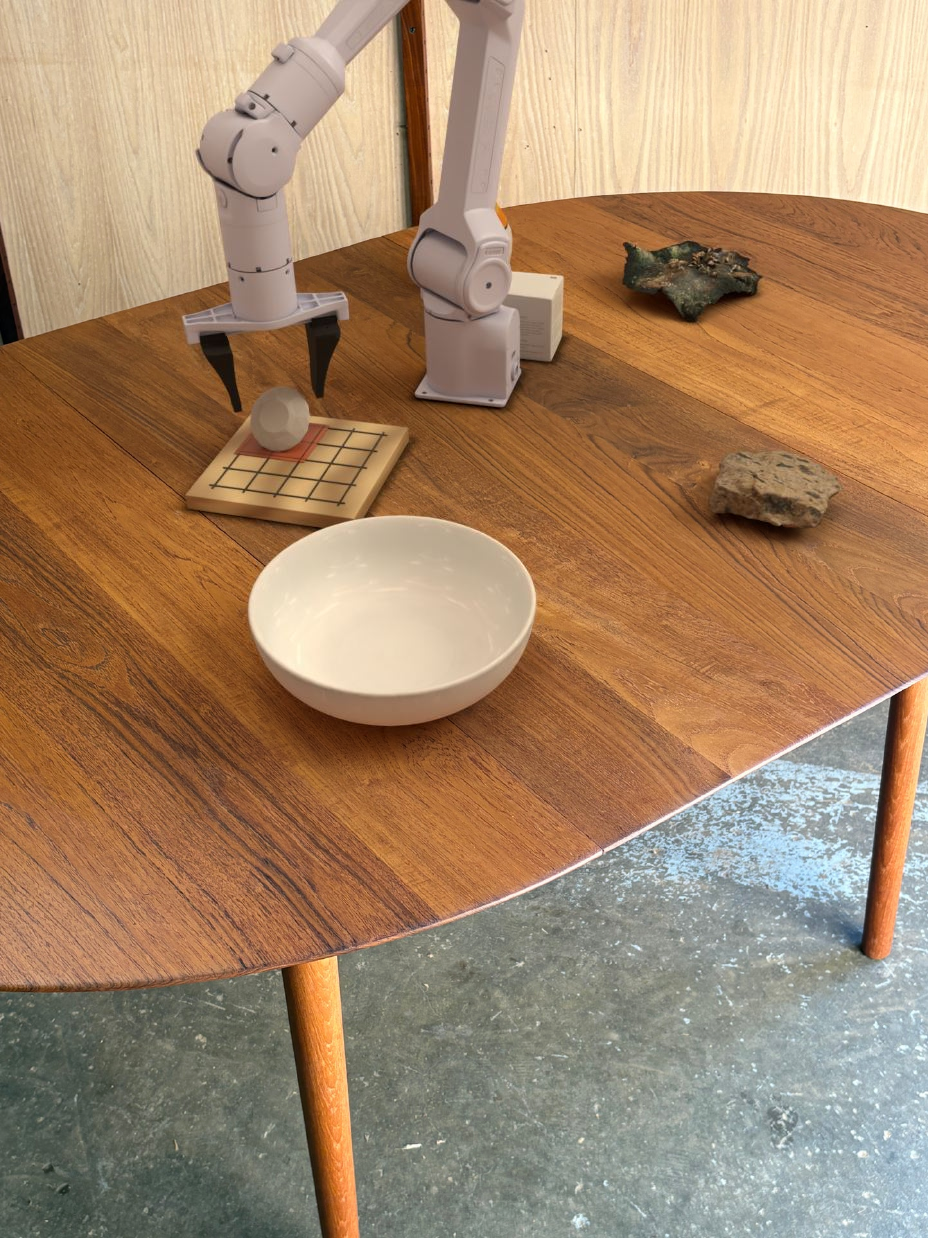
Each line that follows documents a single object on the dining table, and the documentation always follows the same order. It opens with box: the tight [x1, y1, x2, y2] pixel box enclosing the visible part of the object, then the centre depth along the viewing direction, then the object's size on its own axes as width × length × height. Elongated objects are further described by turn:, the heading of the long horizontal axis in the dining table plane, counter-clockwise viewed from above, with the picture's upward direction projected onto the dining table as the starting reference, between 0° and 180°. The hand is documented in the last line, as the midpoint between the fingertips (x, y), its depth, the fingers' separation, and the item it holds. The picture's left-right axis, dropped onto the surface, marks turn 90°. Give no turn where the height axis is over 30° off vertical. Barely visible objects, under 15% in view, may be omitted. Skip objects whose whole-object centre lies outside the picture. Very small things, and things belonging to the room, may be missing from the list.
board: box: [184, 413, 410, 529], centre depth 114 cm, size 16×16×2 cm
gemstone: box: [250, 385, 311, 452], centre depth 115 cm, size 6×6×5 cm
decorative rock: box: [621, 240, 764, 322], centre depth 144 cm, size 19×6×15 cm
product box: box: [501, 270, 565, 362], centre depth 131 cm, size 6×6×7 cm
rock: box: [707, 450, 843, 530], centre depth 107 cm, size 11×11×4 cm
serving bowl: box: [247, 515, 537, 727], centre depth 90 cm, size 21×21×7 cm
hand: (277, 400), depth 113 cm, fingers open, 7 cm apart
